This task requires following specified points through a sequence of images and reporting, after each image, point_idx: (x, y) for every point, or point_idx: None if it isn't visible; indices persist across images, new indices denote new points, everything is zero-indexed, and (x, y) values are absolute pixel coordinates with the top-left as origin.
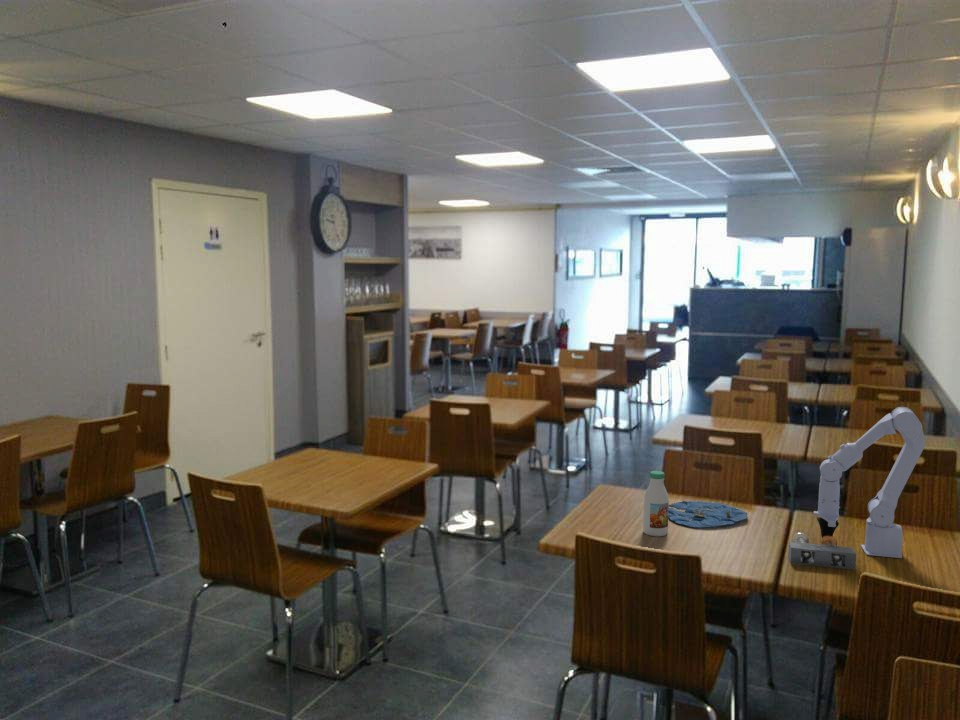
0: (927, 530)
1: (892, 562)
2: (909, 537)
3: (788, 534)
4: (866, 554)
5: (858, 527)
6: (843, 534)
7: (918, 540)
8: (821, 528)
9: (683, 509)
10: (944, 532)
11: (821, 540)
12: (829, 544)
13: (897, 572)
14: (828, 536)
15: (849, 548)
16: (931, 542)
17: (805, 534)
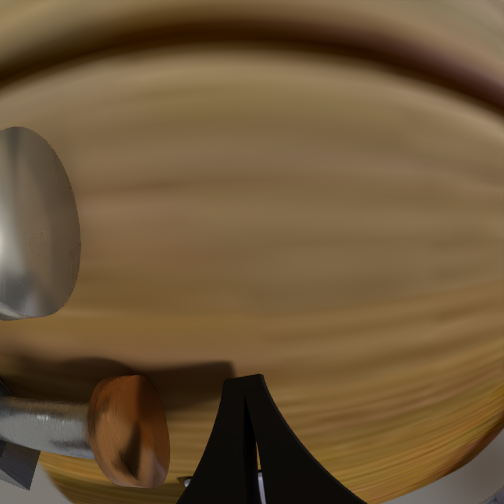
0: (445, 468)
1: (166, 500)
2: (408, 477)
3: (417, 81)
4: (187, 479)
5: (493, 393)
6: (446, 390)
7: (388, 488)
8: (180, 498)
9: None
10: (432, 480)
11: (105, 407)
12: (31, 433)
13: (90, 490)
14: (105, 474)
15: (7, 478)
16: (377, 498)
17: (18, 312)
